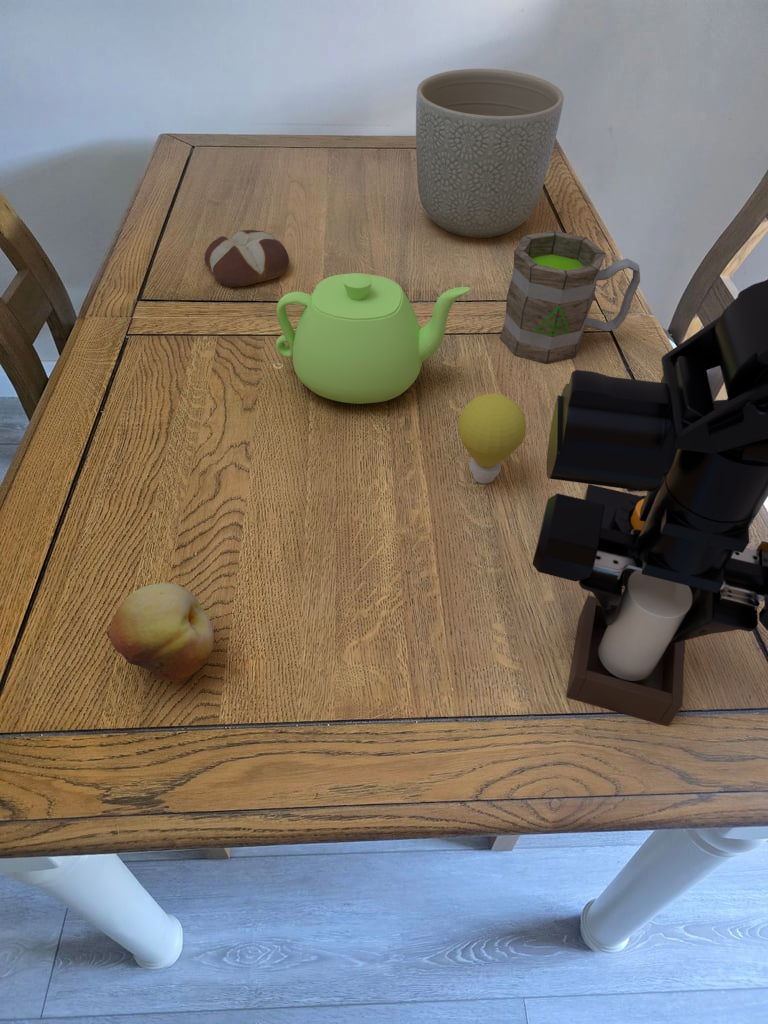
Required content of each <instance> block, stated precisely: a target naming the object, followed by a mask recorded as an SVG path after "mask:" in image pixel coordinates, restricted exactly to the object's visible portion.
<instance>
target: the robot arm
mask: <svg viewBox="0 0 768 1024" xmlns="http://www.w3.org/2000/svg"><path fill="white" fill-rule="evenodd" d="M660 361H661V362H660V363H661V369H662V377H661V380H660V382H659V381H651V380H641V379H633V378H623V377H615V376H609V375H606V374H602V373H600V372H597V371H589V370H583V369H582V370H581V369H574V370H573V371H572V372H571V374H570V378H569V381H568V383H566V384H565V385H564V386H563V388H562V392H561V395H559V394H557V396H556V401H555V404H554V409H553V413H552V418H551V425H550V431H549V437H548V444H547V453H546V469H545V470H546V477H547V479H548V480H557V481H564V482H571V483H577V484H579V483H580V484H586V485H588V484H590V485H594V486H599V487H609V488H615V489H616V488H617V489H623V490H627V489H630V490H638V492H639V491H640V492H646V494H645V496H646V497H645V499H644V502H643V504H642V506H641V509H640V519H639V520H640V521H644V522H645V523H644V526H643V528H642V530H637V529H633V530H632V531H631V534H629V533H625V532H621V531H616V530H612V529H608V528H604V527H601V526H602V520H603V513H604V506H605V504H601V503H597V502H592V501H588V500H584V498H579V497H575V496H571V495H566V494H562V493H556V494H554V495H552V496H550V497H549V498H547V502H546V504H545V508H544V513H543V516H542V519H541V524H540V529H539V533H538V538H537V542H536V546H535V551H534V555H533V560H532V566H533V567H534V568H535V569H536V571H537V572H538V573H540V574H545V575H548V576H553V577H556V578H560V579H564V580H568V581H572V582H578V584H579V587H580V588H581V589H583V590H584V591H587V592H591V593H592V594H593V597H596V599H597V601H598V602H599V604H600V606H601V609H602V612H603V616H604V620H605V624H606V625H611V624H612V623H613V622H614V621H615V618H616V614H617V610H618V607H619V603H620V599H621V596H622V593H623V589H624V588H623V586H624V585H623V579H624V570H625V569H626V568H629V569H633V570H637V571H641V572H642V574H643V575H647V576H651V577H655V578H659V579H663V580H667V581H671V582H675V583H679V584H683V585H687V586H691V587H695V588H698V589H697V590H696V592H695V593H694V594H693V596H692V598H693V601H692V605H691V608H690V609H689V611H688V613H687V614H686V616H685V618H684V620H683V621H682V623H681V625H680V626H679V628H678V630H677V632H676V633H675V635H674V637H673V638H672V640H671V642H674V643H678V642H681V641H685V642H686V641H688V640H693V639H697V638H701V637H705V636H708V635H714V634H721V633H726V632H733V631H744V632H748V633H750V632H753V631H755V630H756V629H757V627H758V626H759V622H760V624H761V625H762V626H763V627H764V629H765V630H766V631H767V632H768V541H763V540H762V541H761V542H760V544H759V545H758V547H757V548H756V549H751V548H747V547H748V545H749V544H750V527H751V525H752V524H753V522H754V521H755V518H756V517H757V515H758V514H759V512H760V510H761V509H762V507H763V505H764V504H765V502H766V501H767V499H768V279H766V280H763V281H760V282H756V283H753V284H751V285H749V286H747V287H745V288H744V289H743V290H741V291H739V292H738V294H737V297H736V298H735V299H734V300H733V301H732V302H731V303H730V304H729V305H728V306H727V307H726V308H725V309H724V310H723V311H722V313H721V315H720V316H719V317H717V318H716V319H714V320H713V321H711V322H710V323H708V324H707V325H706V326H704V327H702V328H701V329H700V330H698V331H697V332H696V333H694V334H692V335H691V336H690V337H688V338H687V339H686V340H684V341H683V342H681V343H680V344H678V345H677V346H675V347H674V348H672V349H671V350H669V351H668V352H666V353H665V354H664V355H662V357H661V360H660ZM717 367H720V371H721V375H722V380H723V384H724V388H725V392H726V396H727V398H726V399H716V400H714V397H713V392H712V388H711V383H710V379H709V375H708V370H712V369H714V368H717ZM760 602H761V603H764V605H763V607H762V608H761V610H760V611H759V613H758V608H759V607H760Z"/></svg>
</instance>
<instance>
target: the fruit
mask: <svg viewBox="0 0 768 1024" xmlns="http://www.w3.org/2000/svg"><path fill="white" fill-rule="evenodd" d="M109 626H110V627H109V628H108V630H107V631H106V635H107V637H108V639H109V641H110V643H111V645H112V647H113V649H115V651H116V653H118V654H121V656H122V657H124V659H125V660H126V662H127V663H128V664H130V665H133V666H137V667H140V668H143V669H146V670H148V671H150V672H151V674H153V675H154V676H155V678H156V679H157V680H159V681H168V682H172V683H178V682H179V683H180V682H182V681H184V680H185V679H188V678H190V677H191V676H193V675H194V674H195V673H197V672H199V670H200V669H202V668H203V666H204V665H205V664H206V662H207V661H208V659H209V658H210V655H211V653H212V651H213V647H214V642H215V641H214V640H215V632H214V626H213V624H212V622H211V620H210V618H209V616H208V614H207V613H206V611H205V610H204V608H203V606H202V605H201V603H200V601H199V600H198V598H197V596H195V595H194V594H193V592H191V591H190V590H189V589H187V588H186V587H184V586H181V585H178V584H175V583H168V582H159V583H158V582H157V583H152V584H149V585H145V586H143V587H140V588H138V589H136V590H135V591H133V592H131V593H130V594H129V595H128V596H127V597H126V598H124V600H122V602H121V603H120V604H119V606H118V607H117V609H116V611H115V614H114V615H113V619H112V622H111V624H110V625H109Z"/></svg>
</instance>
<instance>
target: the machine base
mask: <svg viewBox="0 0 768 1024" xmlns="http://www.w3.org/2000/svg"><path fill="white" fill-rule="evenodd" d="M645 497H646V495H638V494H633V493H629V492H624V491H619V490H617V489H611V488H607V487H604V486H600V485H593V484H587V487H586V490H585V493H584V496H583V499H584V500H588V501H592V502H597V503H601V504H605V506H604V513H603V520H602V526H601V527H604V528H608V529H612V530H616V531H621V532H625V533H629V534H631V531H632V530H633V529H634V528H633V527H632V524H631V517H632V514H633V512H634V509H635V507H636V505H637V503H638V502H639V501H640V500H642V499H645ZM635 571H636V570H633V569H629V568H626V569H625V570H624V579H623V586H624V587H625V586H626V584H627V581H628V579H629V577H630V576H631V574H632V573H633V572H635ZM689 588H690V590H691V592H692V596H693V594H694V593H695V592H696V590H697V589H698V588H695V587H691V586H689Z"/></svg>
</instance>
